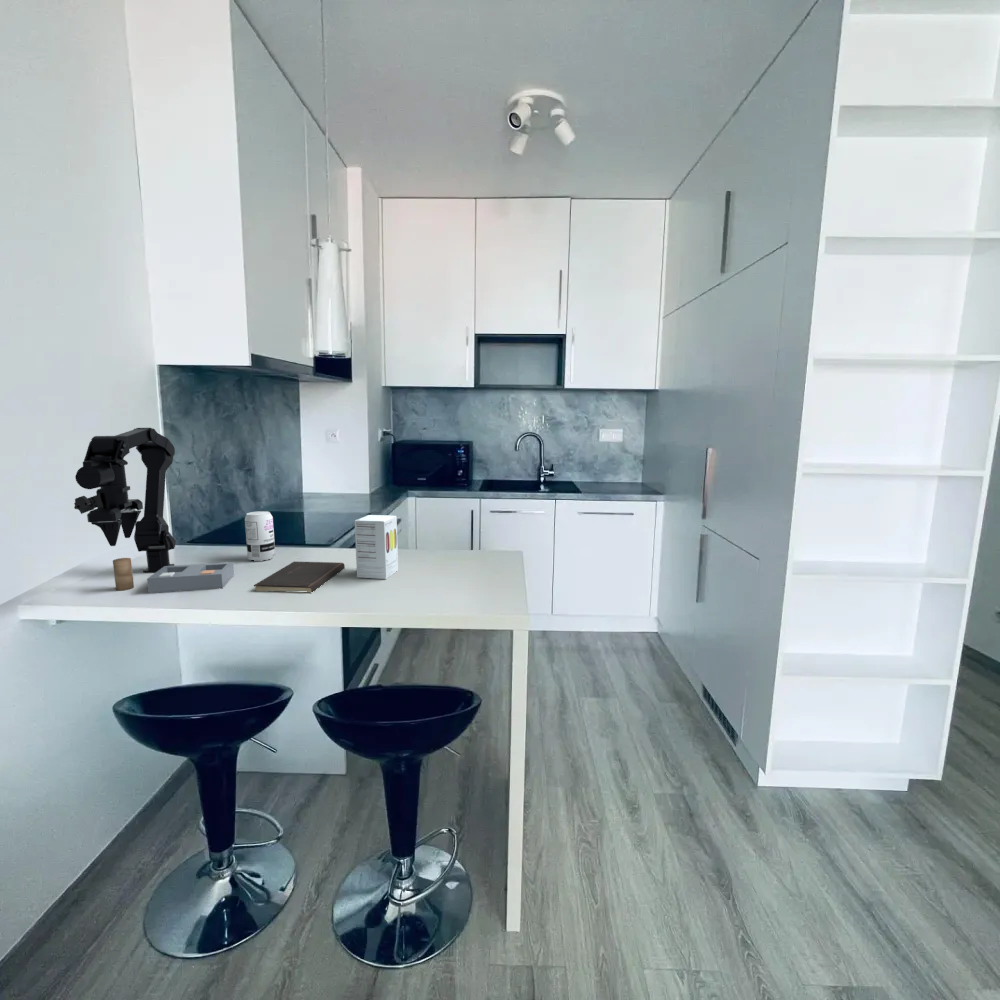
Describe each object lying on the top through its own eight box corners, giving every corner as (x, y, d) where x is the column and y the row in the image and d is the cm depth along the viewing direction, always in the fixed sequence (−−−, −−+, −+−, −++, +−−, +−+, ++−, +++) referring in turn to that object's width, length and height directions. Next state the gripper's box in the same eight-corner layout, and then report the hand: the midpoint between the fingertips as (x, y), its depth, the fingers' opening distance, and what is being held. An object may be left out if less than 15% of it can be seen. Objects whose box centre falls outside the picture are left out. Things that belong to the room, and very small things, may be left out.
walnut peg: (120, 586, 150) (116, 558, 149) (136, 585, 151) (133, 557, 149) (113, 591, 146) (109, 562, 145) (130, 590, 147) (126, 561, 146)
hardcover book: (254, 593, 145) (253, 585, 145) (294, 568, 168) (293, 561, 168) (312, 595, 144) (311, 586, 144) (344, 569, 167) (344, 562, 166)
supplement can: (248, 556, 180) (245, 511, 178) (275, 554, 183) (272, 510, 180) (247, 563, 173) (243, 516, 170) (275, 560, 175) (271, 514, 173)
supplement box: (386, 579, 155) (384, 521, 152) (356, 578, 157) (353, 520, 154) (399, 570, 164) (397, 515, 161) (370, 568, 166) (368, 514, 163)
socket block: (166, 579, 156) (164, 565, 155) (234, 575, 159) (233, 561, 159) (148, 593, 144) (147, 577, 144) (222, 588, 148) (221, 572, 147)
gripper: (94, 480, 151) (102, 535, 153) (58, 490, 133) (67, 552, 135) (140, 479, 153) (146, 533, 156) (111, 488, 135) (118, 549, 138)
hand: (120, 541), depth 146 cm, fingers open, 9 cm apart
